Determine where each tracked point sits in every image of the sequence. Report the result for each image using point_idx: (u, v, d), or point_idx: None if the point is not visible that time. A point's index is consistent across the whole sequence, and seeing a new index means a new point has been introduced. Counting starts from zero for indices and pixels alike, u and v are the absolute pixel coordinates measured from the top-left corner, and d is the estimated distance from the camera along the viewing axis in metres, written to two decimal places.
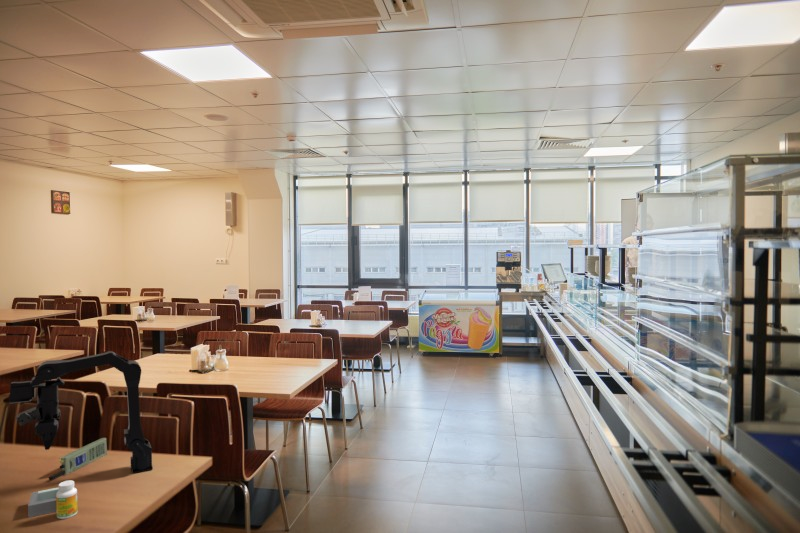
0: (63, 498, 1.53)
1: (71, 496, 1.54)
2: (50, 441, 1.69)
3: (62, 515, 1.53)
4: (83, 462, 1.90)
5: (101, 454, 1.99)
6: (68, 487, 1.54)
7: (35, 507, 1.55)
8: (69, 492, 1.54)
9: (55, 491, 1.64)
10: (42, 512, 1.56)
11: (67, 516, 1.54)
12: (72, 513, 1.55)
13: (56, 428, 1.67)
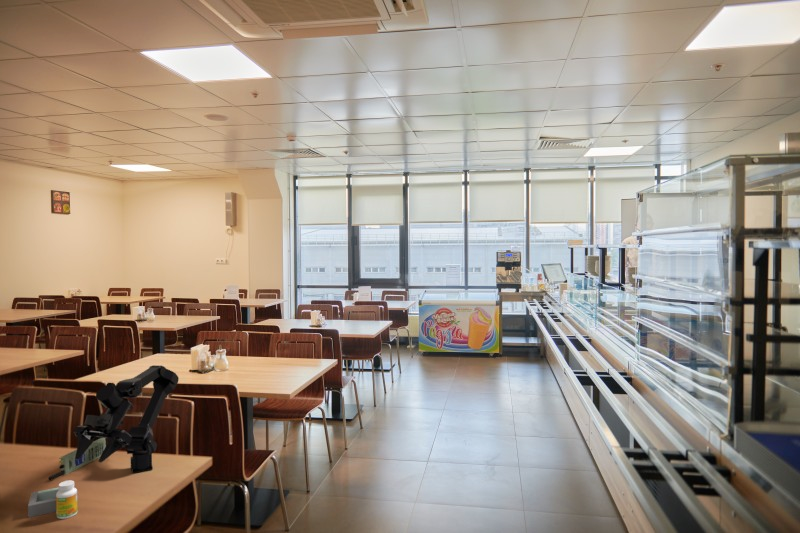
0: (63, 498, 1.53)
1: (71, 496, 1.54)
2: (109, 454, 1.64)
3: (62, 515, 1.53)
4: (82, 462, 1.90)
5: (101, 454, 1.99)
6: (68, 487, 1.54)
7: (35, 507, 1.55)
8: (69, 492, 1.54)
9: (55, 491, 1.64)
10: (42, 512, 1.56)
11: (67, 516, 1.54)
12: (72, 513, 1.55)
13: (129, 443, 1.68)
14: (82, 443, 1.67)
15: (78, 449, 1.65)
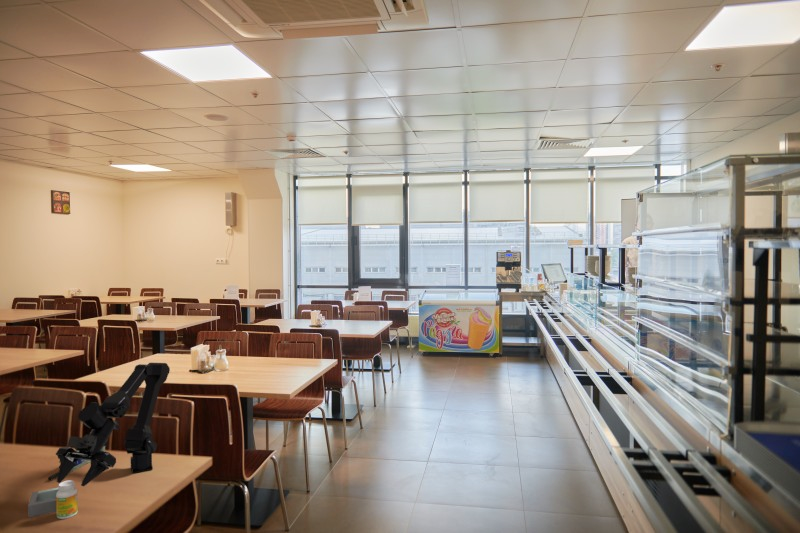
0: (63, 498, 1.53)
1: (71, 496, 1.54)
2: (92, 478, 1.58)
3: (62, 515, 1.53)
4: (82, 462, 1.91)
5: None
6: (68, 487, 1.54)
7: (35, 507, 1.55)
8: (69, 492, 1.54)
9: (55, 491, 1.64)
10: (42, 512, 1.56)
11: (67, 516, 1.54)
12: (72, 513, 1.55)
13: None
14: (64, 466, 1.60)
15: (60, 472, 1.59)
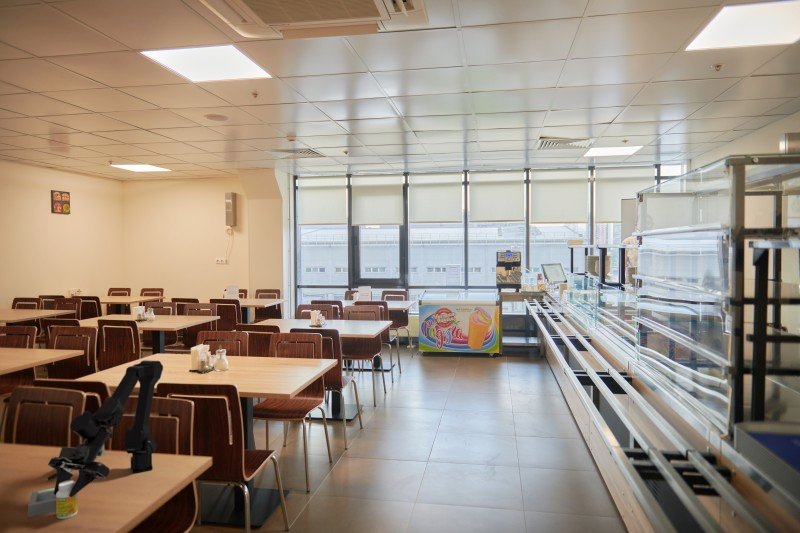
0: (63, 498, 1.53)
1: None
2: (80, 488, 1.56)
3: (62, 515, 1.53)
4: None
5: None
6: (68, 487, 1.54)
7: (35, 507, 1.55)
8: (69, 492, 1.54)
9: None
10: (42, 512, 1.56)
11: (67, 516, 1.54)
12: (72, 513, 1.55)
13: None
14: (61, 477, 1.57)
15: (57, 484, 1.56)
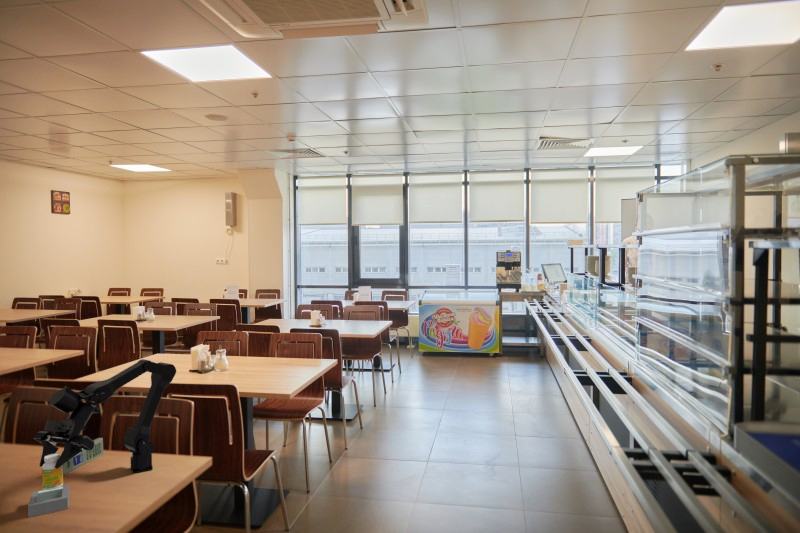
0: (49, 469, 1.57)
1: None
2: (65, 460, 1.60)
3: (48, 486, 1.57)
4: (80, 462, 1.91)
5: (98, 454, 2.00)
6: (53, 460, 1.58)
7: (35, 507, 1.55)
8: (54, 464, 1.58)
9: (55, 491, 1.64)
10: (42, 512, 1.56)
11: (53, 487, 1.58)
12: (58, 484, 1.59)
13: (92, 448, 1.63)
14: (47, 450, 1.62)
15: (43, 456, 1.60)
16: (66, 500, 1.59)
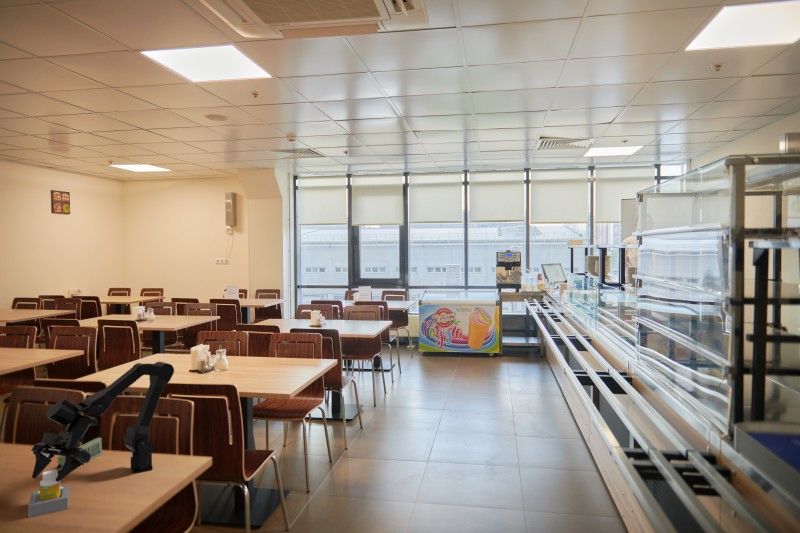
0: (46, 486, 1.58)
1: (54, 484, 1.60)
2: (66, 473, 1.60)
3: None
4: None
5: (97, 454, 2.00)
6: (51, 476, 1.59)
7: (35, 507, 1.55)
8: (52, 480, 1.60)
9: None
10: (42, 512, 1.56)
11: None
12: None
13: (88, 461, 1.64)
14: (40, 461, 1.63)
15: (35, 468, 1.62)
16: (66, 500, 1.59)
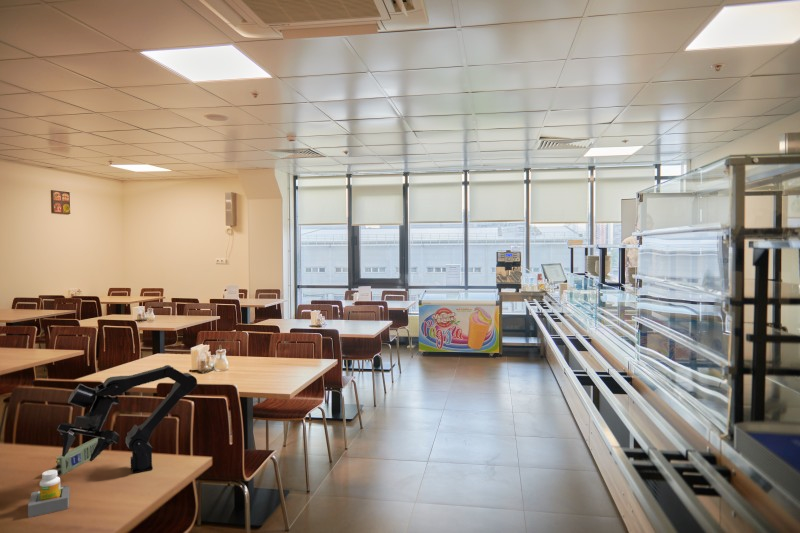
0: (46, 486, 1.58)
1: (54, 484, 1.60)
2: (98, 453, 1.72)
3: None
4: (78, 462, 1.91)
5: None
6: (51, 476, 1.59)
7: (35, 507, 1.55)
8: (52, 480, 1.60)
9: None
10: (42, 512, 1.56)
11: None
12: None
13: None
14: (68, 441, 1.72)
15: (64, 447, 1.71)
16: (66, 500, 1.59)
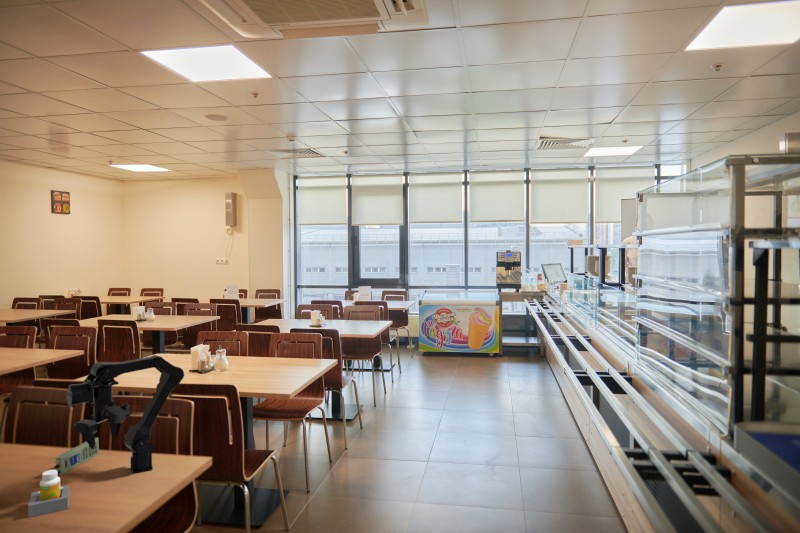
0: (46, 486, 1.58)
1: (54, 484, 1.60)
2: None
3: None
4: (77, 462, 1.91)
5: (94, 454, 2.00)
6: (51, 476, 1.59)
7: (35, 507, 1.55)
8: (52, 480, 1.60)
9: None
10: (42, 512, 1.56)
11: None
12: None
13: None
14: None
15: (94, 441, 1.73)
16: (66, 500, 1.59)
